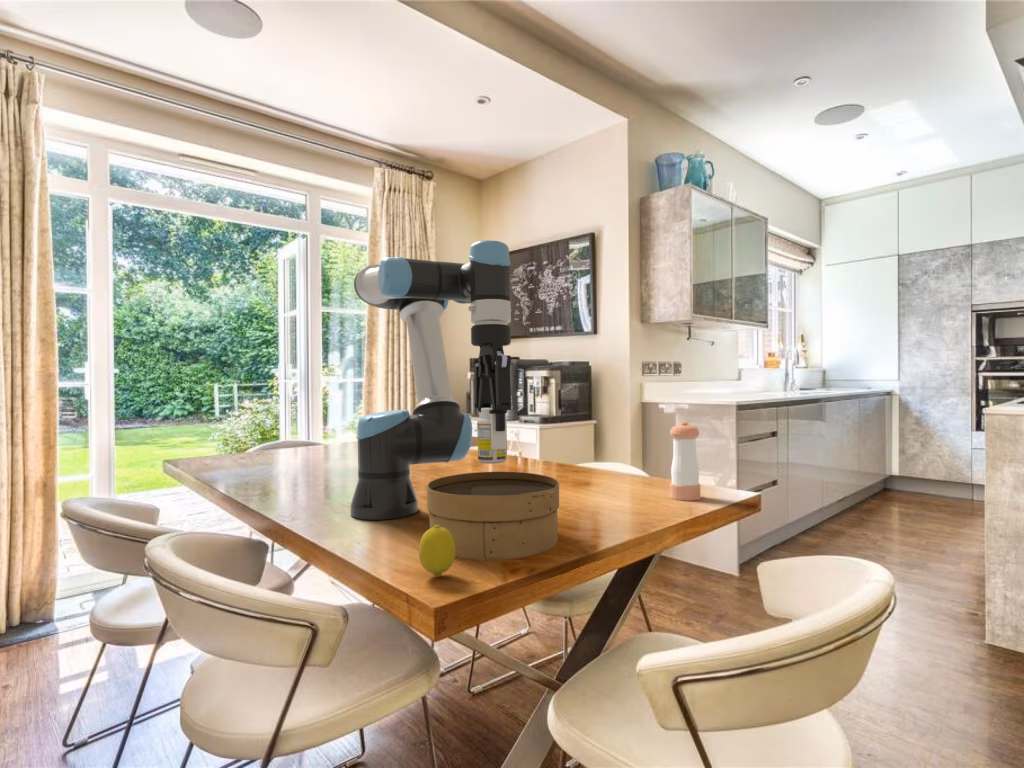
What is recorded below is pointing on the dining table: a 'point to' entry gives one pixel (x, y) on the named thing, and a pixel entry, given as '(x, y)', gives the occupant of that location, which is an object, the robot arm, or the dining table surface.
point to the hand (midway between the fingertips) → (492, 446)
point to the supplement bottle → (488, 441)
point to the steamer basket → (496, 513)
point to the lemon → (437, 550)
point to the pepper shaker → (684, 463)
